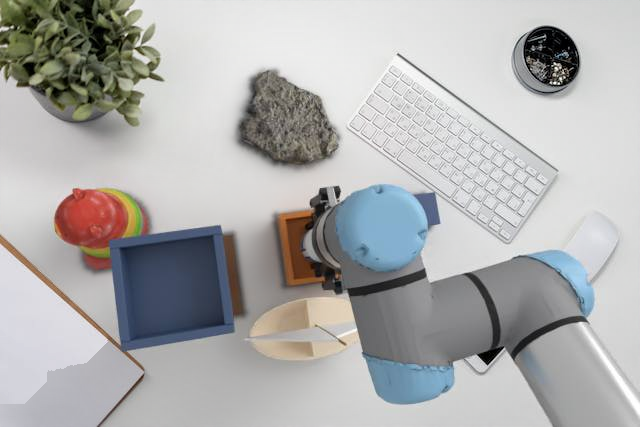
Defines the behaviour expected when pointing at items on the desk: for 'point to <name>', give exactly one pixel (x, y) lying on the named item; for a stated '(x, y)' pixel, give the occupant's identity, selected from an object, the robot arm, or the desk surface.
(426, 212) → the slate block
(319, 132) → the stone slab
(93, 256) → the stacking bear
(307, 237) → the pill bottle
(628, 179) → the desk surface
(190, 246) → the slate bin
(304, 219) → the amber bin
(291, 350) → the toy sailboat
